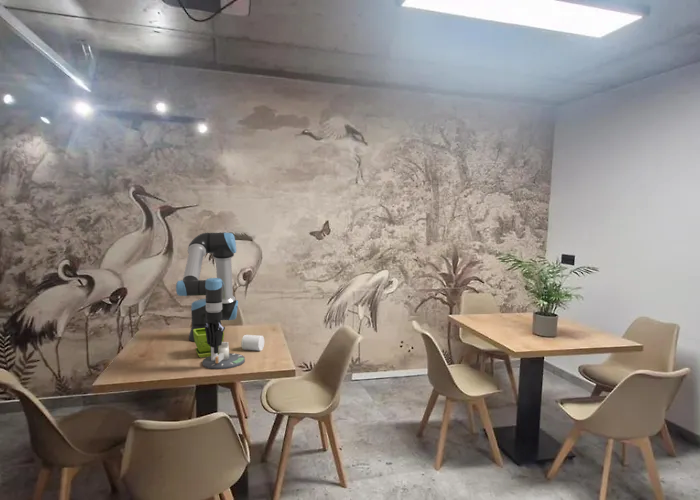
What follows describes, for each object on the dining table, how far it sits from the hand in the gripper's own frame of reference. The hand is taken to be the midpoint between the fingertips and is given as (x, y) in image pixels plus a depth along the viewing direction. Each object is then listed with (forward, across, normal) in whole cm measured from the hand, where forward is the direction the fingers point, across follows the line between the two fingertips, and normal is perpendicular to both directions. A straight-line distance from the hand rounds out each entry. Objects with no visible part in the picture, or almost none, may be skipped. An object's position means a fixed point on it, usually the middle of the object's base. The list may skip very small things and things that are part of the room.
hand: (214, 359), depth 210 cm
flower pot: (+4, -19, +12) cm, 23 cm away
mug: (+4, -7, +32) cm, 33 cm away
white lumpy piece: (+2, 0, +4) cm, 5 cm away
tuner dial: (+4, -2, +7) cm, 8 cm away
